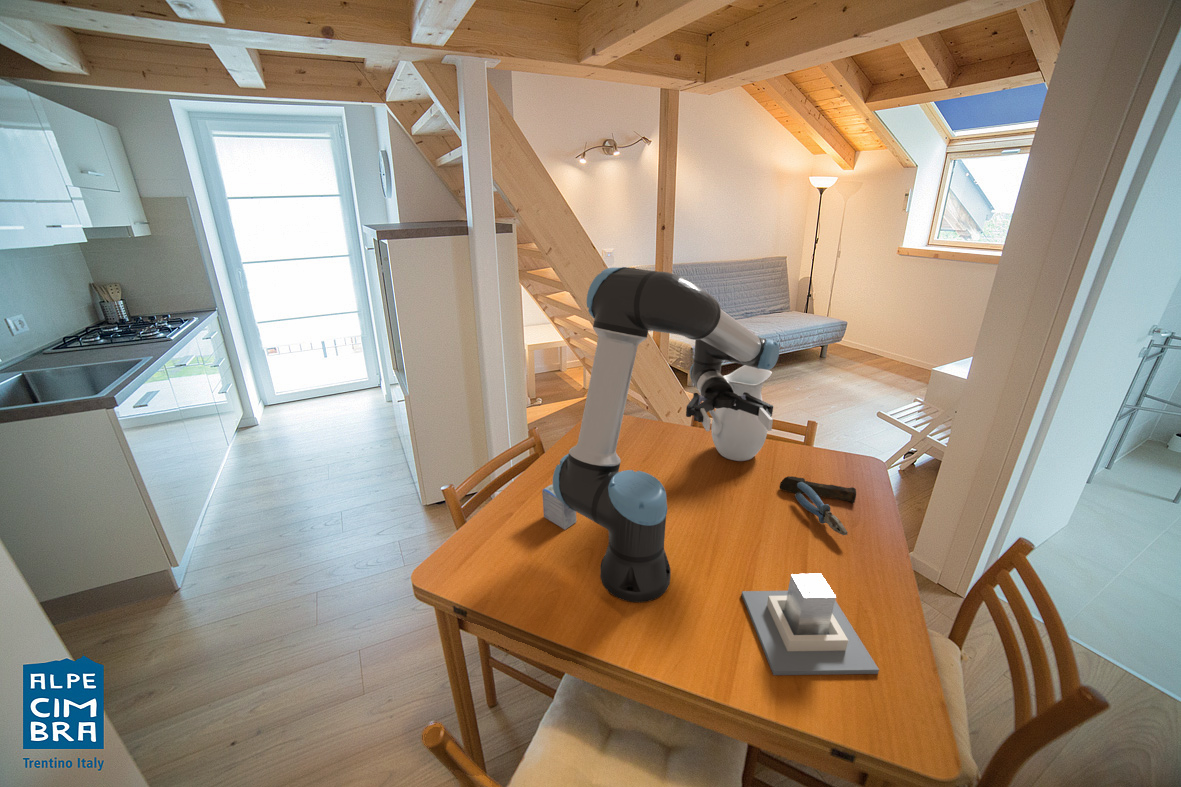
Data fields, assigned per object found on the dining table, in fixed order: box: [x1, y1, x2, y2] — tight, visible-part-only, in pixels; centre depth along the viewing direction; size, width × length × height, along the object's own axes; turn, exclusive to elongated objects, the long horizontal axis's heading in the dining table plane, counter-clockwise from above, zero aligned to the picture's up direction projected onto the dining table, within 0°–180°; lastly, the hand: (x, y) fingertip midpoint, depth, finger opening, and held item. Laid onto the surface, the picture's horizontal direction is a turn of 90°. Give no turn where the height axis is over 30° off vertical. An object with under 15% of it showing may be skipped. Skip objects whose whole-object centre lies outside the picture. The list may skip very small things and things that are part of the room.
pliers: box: [794, 482, 849, 536], centre depth 120 cm, size 20×2×6 cm, turn 8°
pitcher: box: [702, 365, 773, 462], centre depth 147 cm, size 24×17×28 cm
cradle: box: [741, 590, 880, 676], centre depth 89 cm, size 18×18×4 cm
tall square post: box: [784, 573, 837, 635], centre depth 88 cm, size 6×6×10 cm
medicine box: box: [541, 483, 577, 530], centre depth 120 cm, size 8×4×9 cm, turn 47°
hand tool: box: [779, 475, 857, 505], centre depth 131 cm, size 19×4×5 cm, turn 69°
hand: (739, 425), depth 104 cm, fingers open, 13 cm apart
